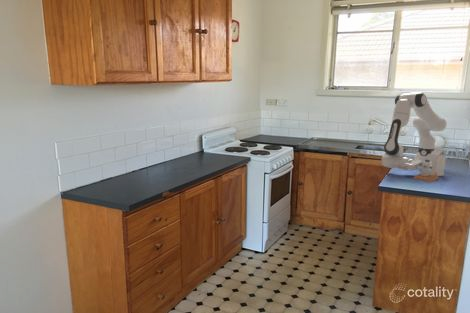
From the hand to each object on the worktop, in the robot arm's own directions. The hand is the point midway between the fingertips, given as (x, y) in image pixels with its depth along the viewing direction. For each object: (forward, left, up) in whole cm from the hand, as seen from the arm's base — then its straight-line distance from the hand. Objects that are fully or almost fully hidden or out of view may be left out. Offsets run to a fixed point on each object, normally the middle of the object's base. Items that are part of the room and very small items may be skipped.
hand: (426, 166), depth 261 cm
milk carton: (-17, +2, -9) cm, 19 cm away
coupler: (-1, 0, -8) cm, 8 cm away
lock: (0, 0, -7) cm, 7 cm away
